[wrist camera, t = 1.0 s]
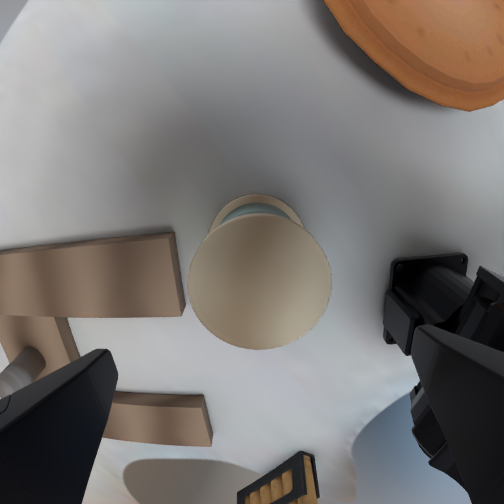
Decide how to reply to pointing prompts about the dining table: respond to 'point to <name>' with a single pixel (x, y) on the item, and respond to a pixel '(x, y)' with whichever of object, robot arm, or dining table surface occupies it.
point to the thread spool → (259, 275)
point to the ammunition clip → (285, 484)
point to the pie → (433, 45)
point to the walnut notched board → (96, 306)
